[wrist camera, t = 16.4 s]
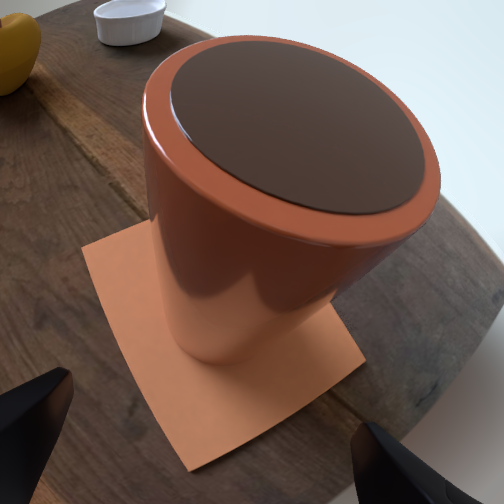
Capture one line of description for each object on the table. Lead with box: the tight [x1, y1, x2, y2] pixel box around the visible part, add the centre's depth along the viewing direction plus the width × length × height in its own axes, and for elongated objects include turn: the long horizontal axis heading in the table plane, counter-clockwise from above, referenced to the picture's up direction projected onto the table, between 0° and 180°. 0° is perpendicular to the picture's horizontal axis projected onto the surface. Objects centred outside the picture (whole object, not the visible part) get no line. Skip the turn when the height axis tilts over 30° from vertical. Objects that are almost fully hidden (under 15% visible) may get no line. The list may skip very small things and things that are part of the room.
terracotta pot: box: [141, 35, 441, 366], centre depth 11 cm, size 6×6×14 cm
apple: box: [0, 13, 41, 96], centre depth 19 cm, size 9×8×9 cm
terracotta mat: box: [82, 219, 366, 472], centre depth 17 cm, size 14×12×1 cm
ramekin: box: [94, 0, 167, 46], centre depth 28 cm, size 9×9×4 cm
